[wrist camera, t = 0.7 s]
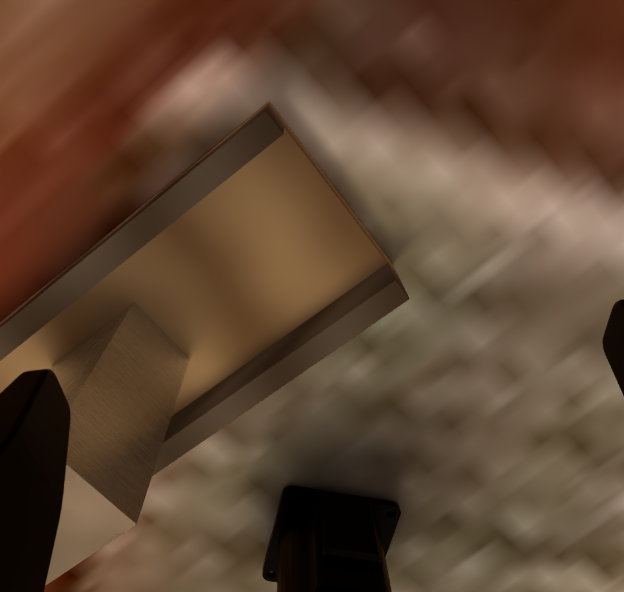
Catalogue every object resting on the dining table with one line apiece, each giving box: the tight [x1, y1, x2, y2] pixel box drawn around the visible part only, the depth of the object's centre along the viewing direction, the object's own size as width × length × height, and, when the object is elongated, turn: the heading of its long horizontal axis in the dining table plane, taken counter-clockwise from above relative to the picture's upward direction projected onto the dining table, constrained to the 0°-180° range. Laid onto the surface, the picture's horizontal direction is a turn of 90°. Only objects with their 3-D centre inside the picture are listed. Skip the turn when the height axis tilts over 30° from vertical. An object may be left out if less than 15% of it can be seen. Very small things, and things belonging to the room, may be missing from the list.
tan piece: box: [0, 102, 409, 476], centre depth 26 cm, size 24×9×4 cm, turn 127°
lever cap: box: [45, 302, 190, 585], centre depth 22 cm, size 4×5×10 cm
